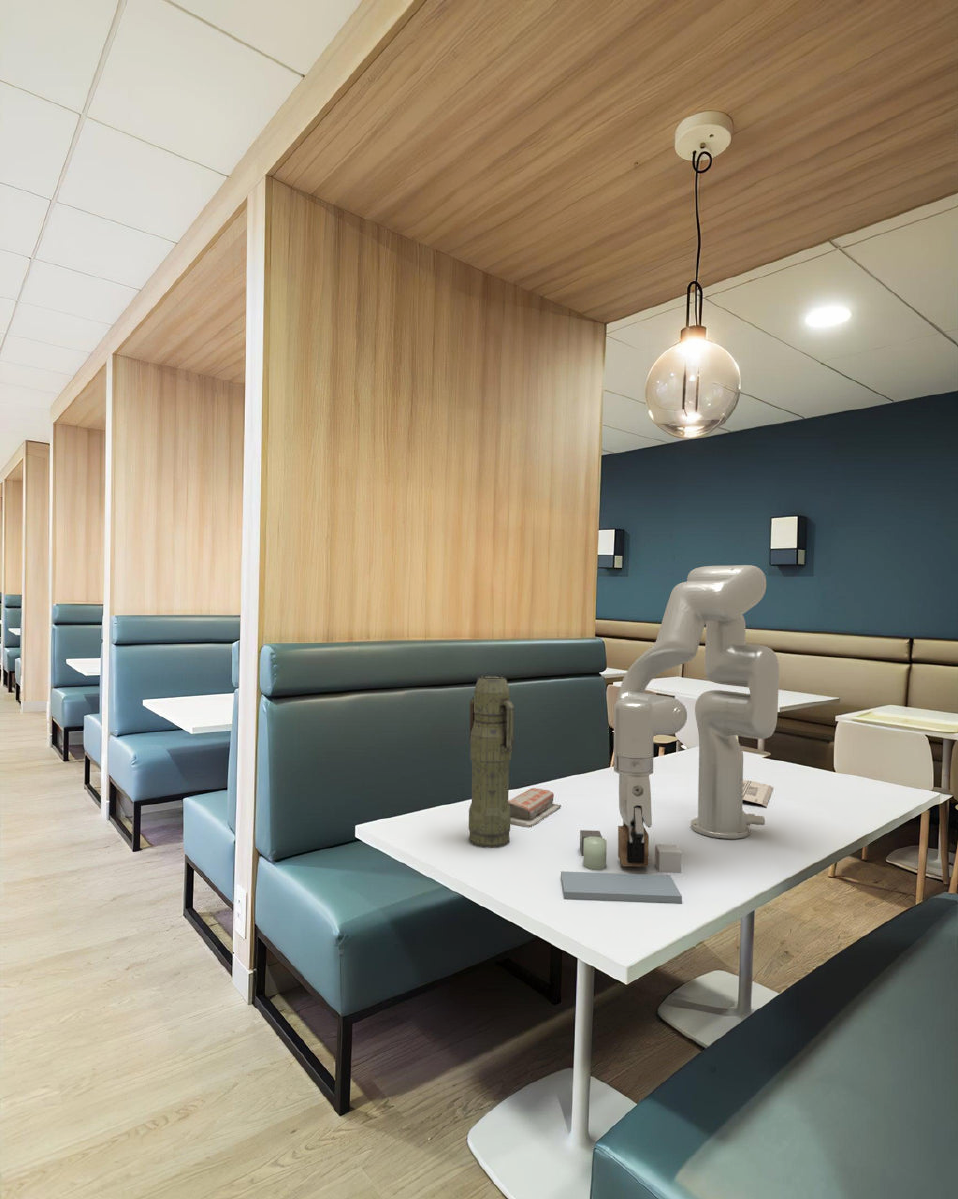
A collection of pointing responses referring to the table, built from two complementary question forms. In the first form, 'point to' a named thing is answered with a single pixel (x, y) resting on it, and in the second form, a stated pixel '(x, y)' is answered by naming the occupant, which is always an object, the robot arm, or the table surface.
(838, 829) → the table surface
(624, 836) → the walnut block
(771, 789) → the newspaper
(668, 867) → the grey plastic cube
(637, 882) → the slate board
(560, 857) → the table surface
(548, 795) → the packaged product
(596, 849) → the sage plastic cylinder
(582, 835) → the dark metal block
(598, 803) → the table surface
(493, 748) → the thermos
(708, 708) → the robot arm
